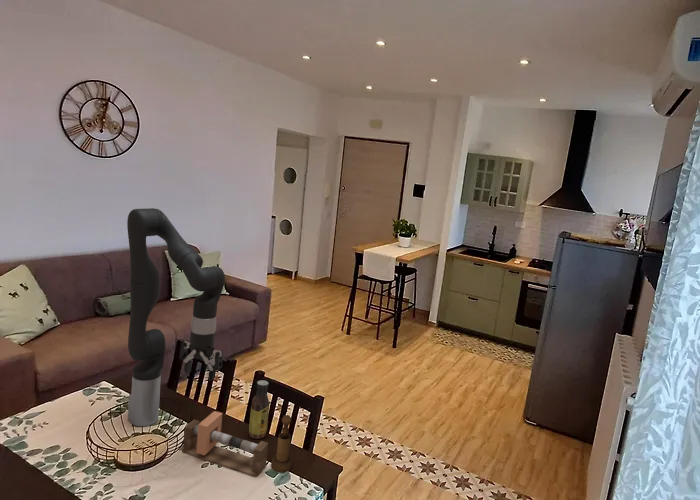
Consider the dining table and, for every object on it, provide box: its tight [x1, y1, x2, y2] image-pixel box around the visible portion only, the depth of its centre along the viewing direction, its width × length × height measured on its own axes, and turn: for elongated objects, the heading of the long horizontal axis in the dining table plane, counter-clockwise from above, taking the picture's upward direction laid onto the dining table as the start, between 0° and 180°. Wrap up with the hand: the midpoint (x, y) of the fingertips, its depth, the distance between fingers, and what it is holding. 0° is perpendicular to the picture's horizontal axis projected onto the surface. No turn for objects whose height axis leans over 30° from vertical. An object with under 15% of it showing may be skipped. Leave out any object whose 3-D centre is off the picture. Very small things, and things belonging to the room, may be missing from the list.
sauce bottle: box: [248, 379, 270, 440], centre depth 169 cm, size 7×6×20 cm
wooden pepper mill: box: [270, 414, 293, 474], centre depth 153 cm, size 7×6×18 cm
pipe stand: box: [181, 419, 269, 478], centre depth 154 cm, size 27×7×9 cm, turn 73°
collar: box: [196, 410, 223, 455], centre depth 155 cm, size 3×9×10 cm, turn 163°
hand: (199, 376), depth 154 cm, fingers open, 8 cm apart
